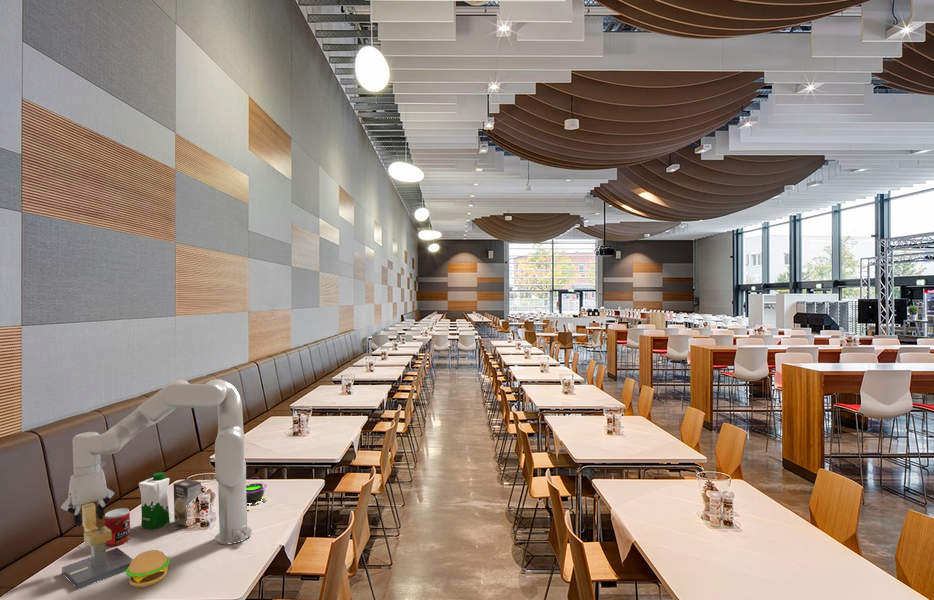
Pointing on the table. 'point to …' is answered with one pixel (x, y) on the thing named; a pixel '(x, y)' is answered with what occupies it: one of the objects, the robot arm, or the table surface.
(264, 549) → the table surface
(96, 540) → the wooden zigzag joint
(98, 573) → the grey slotted plate
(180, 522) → the coffee box
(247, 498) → the toy cauldron
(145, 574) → the hamburger
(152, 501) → the milk carton
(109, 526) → the canned food
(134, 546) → the table surface
